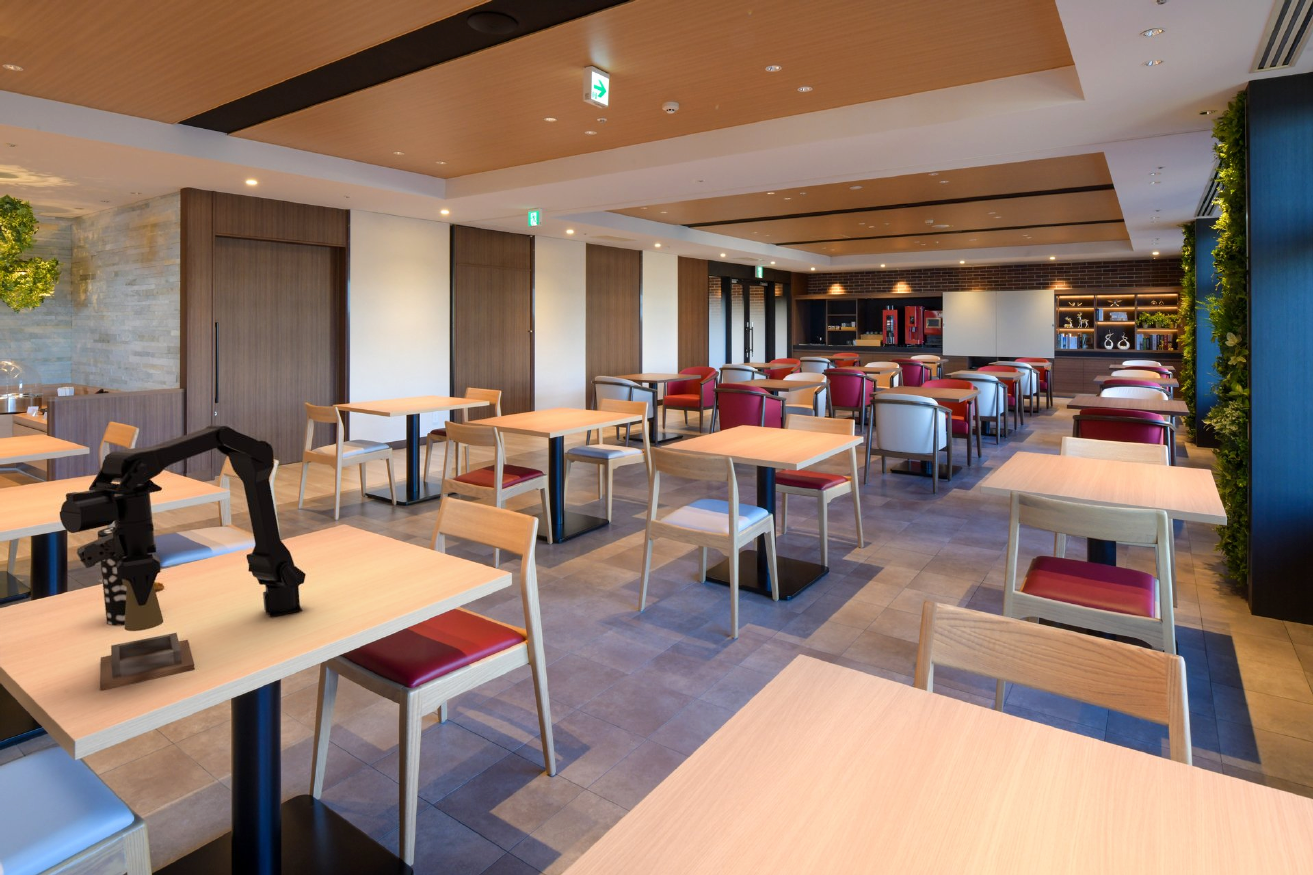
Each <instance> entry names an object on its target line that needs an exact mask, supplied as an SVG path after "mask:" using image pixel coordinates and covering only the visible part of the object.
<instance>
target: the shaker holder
mask: <svg viewBox="0 0 1313 875" xmlns="http://www.w3.org/2000/svg"><path fill="white" fill-rule="evenodd" d="M110 647H111V648H110V652H111V653H110V655H105V656H104V655H103V656H101V657H100V665H99V666H100V668H99V670H100V671H99V675H100V676H99V687H100V688H99V689H100V691H103V690H104V691H105V690H108V688H109V689H113V688H114V689H115V688H117V687H121V686H126V685H130V684H135V683H140V682H144V681H148V680H153V679H157V678H161V677H166V676H170V675H175V674H179V673H180V674H181V673H183V672H188V671H193V670H195V667H196V666H195V663H194V658H193V654H192V651H191V647H190V643H189V640H188V639H183V640H179V637H178V632H172V633H168V634H163V635H158V636H153V637H152V636H151V637H147V638H141V639H138V640H137V639H136V640H132V641H127V642H123V643H117V644H112V645H111V646H110Z"/></svg>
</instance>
